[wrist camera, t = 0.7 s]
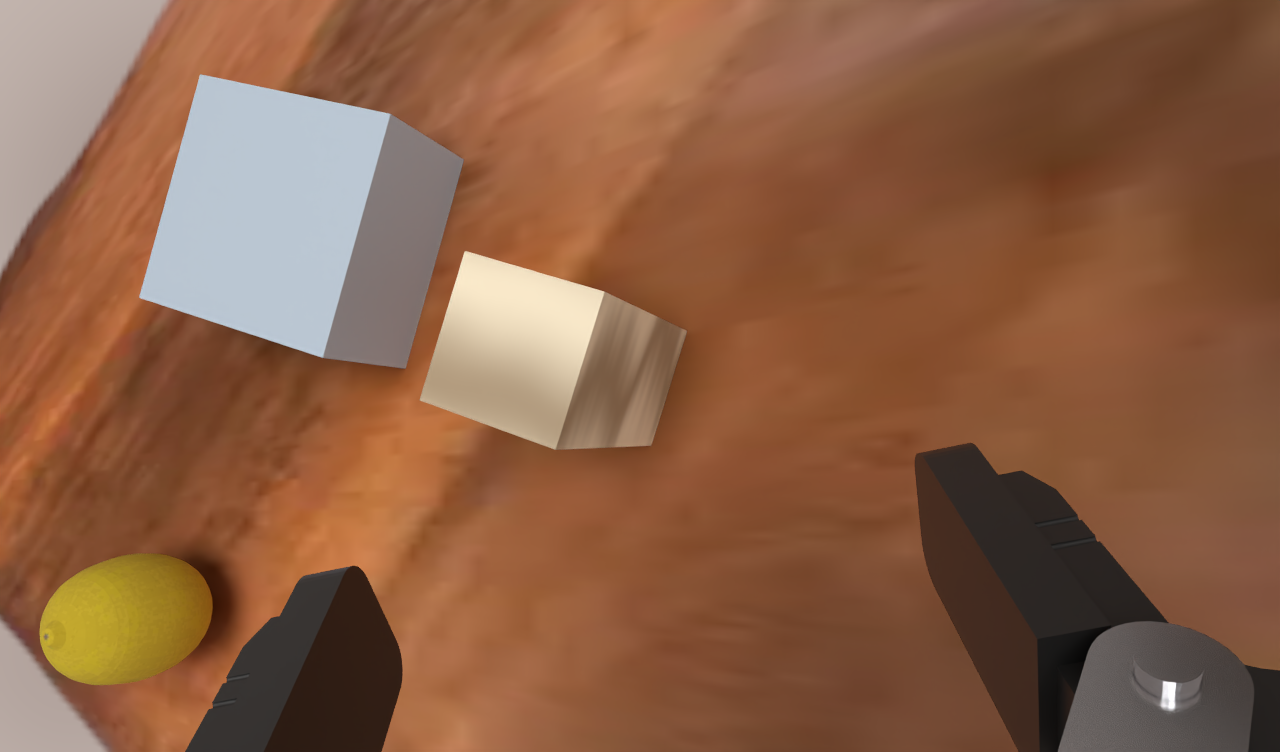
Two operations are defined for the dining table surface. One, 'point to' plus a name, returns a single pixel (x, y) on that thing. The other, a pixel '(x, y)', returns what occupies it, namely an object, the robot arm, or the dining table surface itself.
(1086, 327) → the dining table surface
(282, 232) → the slate block
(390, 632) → the robot arm
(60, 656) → the lemon
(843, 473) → the dining table surface
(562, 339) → the birch block
